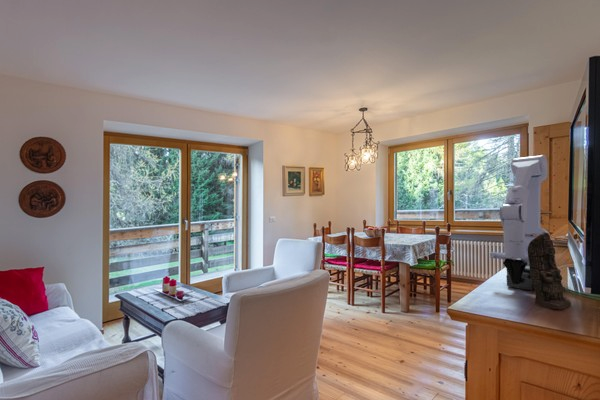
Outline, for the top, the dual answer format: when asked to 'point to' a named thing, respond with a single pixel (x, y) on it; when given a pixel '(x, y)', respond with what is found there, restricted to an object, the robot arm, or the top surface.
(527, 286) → the tray
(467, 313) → the top surface
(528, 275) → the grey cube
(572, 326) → the top surface
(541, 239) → the statue
